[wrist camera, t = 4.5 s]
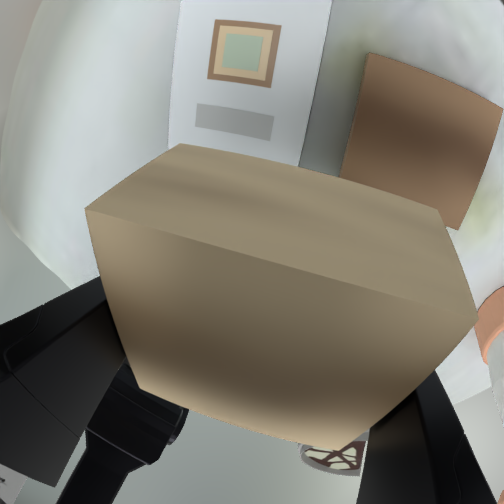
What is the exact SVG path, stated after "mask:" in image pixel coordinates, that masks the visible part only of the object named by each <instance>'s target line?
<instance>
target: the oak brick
mask: <svg viewBox="0 0 504 504" xmlns="http://www.w3.org/2000/svg"><path fill="white" fill-rule="evenodd" d="M84 209H85V214H86V219H87V224H88V228H89V233H90V237H91V242H92V246H93V250H94V254H95V258H96V262H97V266H98V269H99V273H100V277H101V280H102V284H103V287H104V291H105V294H106V297H107V301H108V304H109V307H110V310H111V313H112V316H113V319H114V322H115V325H116V328H117V331H118V334H119V337H120V339H121V342H122V345H123V348H124V350H125V353H126V356H127V358H128V361H129V363H130V366H131V368H132V371H133V373H134V376H135V378H136V380H137V383H138V385H139V387H140V389H143V390H145V391H147V392H149V393H151V394H154V395H156V396H158V397H160V398H163V399H165V400H167V401H170V402H172V403H175V404H177V405H180V406H182V407H185V408H187V409H190V410H192V411H195V412H197V413H200V414H203V415H206V416H208V417H211V418H214V419H217V420H220V421H223V422H226V423H229V424H232V425H235V426H238V427H242V428H245V429H248V430H251V431H255V432H258V433H262V434H265V435H269V436H273V437H276V438H281V439H284V440H288V441H293V442H297V443H301V444H306V445H311V446H315V447H320V448H326V449H331V450H337V451H339V450H341V449H342V448H343V447H345V446H346V445H348V444H349V443H350V442H352V441H353V440H354V439H356V438H357V437H359V436H360V435H361V434H362V433H364V432H365V431H366V430H368V429H369V428H370V427H372V426H373V425H374V424H375V423H377V422H378V421H379V420H380V419H381V418H383V417H384V416H385V415H386V414H387V413H389V412H390V411H391V410H392V409H393V408H395V407H396V406H397V405H398V404H399V403H400V402H401V401H402V400H404V399H405V398H406V397H407V396H408V395H409V394H410V393H411V392H412V391H413V390H415V389H416V388H417V387H418V386H419V385H420V384H421V383H422V382H423V381H424V380H425V379H426V378H427V377H428V376H429V375H430V374H431V373H432V372H433V371H434V370H435V369H436V368H437V367H438V366H439V365H440V364H441V363H442V362H443V360H444V359H445V358H446V357H447V356H448V355H449V354H450V353H451V352H452V351H453V350H454V348H455V347H456V346H457V345H458V344H459V343H460V342H461V340H462V339H463V338H464V337H465V336H466V335H467V333H468V332H469V331H470V330H471V329H472V327H473V326H474V325H475V324H476V322H477V321H478V320H479V317H478V313H477V310H476V307H475V303H474V300H473V297H472V294H471V291H470V288H469V285H468V282H467V279H466V277H465V274H464V271H463V268H462V266H461V263H460V260H459V258H458V255H457V253H456V250H455V248H454V245H453V243H452V241H451V238H450V236H449V234H448V231H447V229H446V227H445V225H444V222H443V220H442V218H441V216H440V214H439V212H438V210H437V209H434V208H432V207H429V206H426V205H423V204H421V203H418V202H415V201H412V200H409V199H406V198H403V197H400V196H397V195H394V194H391V193H388V192H385V191H382V190H379V189H376V188H372V187H369V186H366V185H363V184H359V183H356V182H352V181H349V180H346V179H342V178H339V177H335V176H331V175H328V174H324V173H320V172H316V171H313V170H309V169H305V168H301V167H297V166H293V165H289V164H284V163H280V162H276V161H271V160H267V159H262V158H258V157H253V156H248V155H244V154H239V153H234V152H229V151H223V150H218V149H213V148H207V147H201V146H195V145H189V144H183V143H179V144H178V145H176V146H174V147H173V148H171V149H169V150H168V151H166V152H165V153H163V154H161V155H160V156H158V157H157V158H155V159H154V160H152V161H151V162H149V163H147V164H146V165H144V166H143V167H141V168H140V169H138V170H137V171H135V172H134V173H133V174H131V175H130V176H128V177H127V178H125V179H124V180H122V181H121V182H120V183H118V184H117V185H115V186H114V187H113V188H111V189H110V190H108V191H107V192H106V193H104V194H103V195H102V196H100V197H99V198H98V199H96V200H95V201H94V202H92V203H91V204H90V205H88V206H87V207H86V208H84Z"/></svg>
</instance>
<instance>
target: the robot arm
mask: <svg viewBox="0 0 504 504" xmlns="http://www.w3.org/2000/svg"><path fill="white" fill-rule="evenodd" d="M118 369H119V370H118ZM188 412H189V409H187V408H185V407H182V406H180V405H177V404H175V403H172V402H170V401H167V400H165V399H163V398H160V397H158V396H156V395H154V394H151V393H149V392H147V391H145V390H143V389H140V387H139V385H138V383H137V380H136V378H135V376H134V373H133V371H132V368H131V366H130V363H129V361H128V358H127V356H126V353H125V350H124V348H123V345H122V342H121V339H120V337H119V334H118V331H117V328H116V325H115V322H114V319H113V316H112V313H111V310H110V307H109V304H108V301H107V297H106V294H105V291H104V287H103V284H102V280H101V277H100V276H99V277H97V278H95V279H93V280H91V281H89V282H86V283H84V284H82V285H80V286H78V287H76V288H74V289H72V290H70V291H68V292H66V293H65V294H62V295H60V296H58V297H56V298H54V299H53V300H50V301H48V302H47V303H45V304H44V305H41V306H39V307H37V308H35V309H33V310H31V311H29V312H27V313H25V314H23V315H21V316H19V317H17V318H14V319H12V320H10V321H8V322H6V323H3V324H1V325H0V504H13V503H14V501H15V499H16V498H17V496H18V493H19V492H20V490H21V488H22V486H23V484H24V483H25V481H26V479H27V477H30V478H32V479H34V480H37V481H39V482H42V483H44V484H47V485H49V486H52V487H55V486H56V485H57V483H58V481H59V479H60V477H61V475H62V473H63V471H64V469H65V467H66V465H67V463H68V461H69V459H70V457H71V455H72V453H73V451H74V449H75V447H76V445H77V444H78V442H79V440H80V437H81V436H82V434H83V432H84V430H85V433H86V449H85V451H84V453H83V454H82V456H81V458H80V460H79V461H78V463H77V465H76V467H75V469H74V470H73V472H72V474H71V476H70V478H69V479H68V482H67V483H66V485H65V487H64V489H63V490H62V492H61V494H60V496H59V498H58V500H57V502H56V504H112V503H113V501H114V499H115V497H116V495H117V493H118V491H119V490H120V488H121V486H122V484H123V482H124V480H125V478H126V477H127V475H128V473H130V472H132V471H134V470H136V469H138V468H140V467H142V466H144V465H146V464H147V465H151V464H152V463H154V462H155V461H157V460H158V459H159V458H160V456H161V454H162V452H163V450H164V448H165V446H166V445H171V444H172V443H173V442H174V441H175V440H176V438H177V437H178V435H179V434H180V432H181V430H182V428H183V426H184V424H185V421H186V418H187V415H188ZM356 504H497V502H496V500H495V498H494V496H493V494H492V491H491V489H490V487H489V485H488V483H487V481H486V479H485V477H484V475H483V473H482V470H481V468H480V466H479V464H478V462H477V460H476V458H475V455H474V453H473V451H472V448H471V446H470V444H469V441H468V439H467V437H466V435H465V434H464V430H463V428H462V425H461V423H460V421H459V419H458V416H457V414H456V412H455V410H454V408H453V406H452V403H451V401H450V399H449V397H448V395H447V393H446V391H445V389H444V387H443V385H442V383H441V381H440V379H439V377H438V375H437V373H436V371H435V370H434V371H433V372H432V373H431V374H430V375H429V376H428V377H427V378H426V379H425V380H424V381H423V382H422V383H421V384H420V385H419V386H418V387H417V388H416V389H415V390H413V391H412V392H411V393H410V394H409V395H408V396H407V397H406V398H405V399H404V400H402V401H401V402H400V403H399V404H398V405H397V406H396V407H395V408H393V409H392V410H391V411H390V412H389V413H387V414H386V415H385V416H384V417H383V418H381V419H380V420H379V421H378V422H377V423H375V424H374V425H373V426H372V427H370V430H369V437H368V444H367V451H366V457H365V463H364V469H363V473H362V479H361V484H360V489H359V494H358V498H357V503H356Z"/></svg>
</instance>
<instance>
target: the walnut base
mask: <svg viewBox="0 0 504 504" xmlns="http://www.w3.org/2000/svg"><path fill="white" fill-rule="evenodd" d="M502 112H503V108H501V107H499V106H497V105H496V104H494V103H492V102H490V101H488V100H486V99H485V98H483V97H481V96H479V95H477V94H475V93H473V92H471V91H469V90H467V89H465V88H463V87H461V86H459V85H456V84H454V83H452V82H450V81H448V80H445V79H443V78H441V77H438V76H436V75H434V74H431V73H429V72H426V71H424V70H421V69H418V68H416V67H413V66H410V65H407V64H405V63H402V62H399V61H396V60H393V59H390V58H387V57H383V56H380V55H377V54H373V53H370V52H369V53H368V54H367V55H366V60H365V65H364V70H363V75H362V80H361V85H360V90H359V94H358V99H357V103H356V108H355V112H354V117H353V121H352V125H351V129H350V134H349V138H348V142H347V146H346V150H345V154H344V158H343V162H342V165H341V169H340V173H339V178H342V179H346V180H349V181H352V182H356V183H359V184H363V185H366V186H369V187H372V188H376V189H379V190H382V191H385V192H388V193H391V194H394V195H397V196H400V197H403V198H406V199H409V200H412V201H415V202H418V203H421V204H423V205H426V206H429V207H432V208H434V209H437V210H438V212H439V214H440V216H441V218H442V220H443V222H444V225H445V226H447V227H450V228H453V229H455V230H458V229H459V227H460V225H461V223H462V221H463V219H464V217H465V215H466V212H467V210H468V208H469V206H470V203H471V201H472V199H473V196H474V194H475V191H476V189H477V187H478V184H479V182H480V179H481V176H482V174H483V171H484V169H485V166H486V163H487V160H488V157H489V155H490V152H491V149H492V146H493V143H494V140H495V136H496V133H497V130H498V126H499V123H500V119H501V116H502Z"/></svg>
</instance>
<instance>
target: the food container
mask: <svg viewBox="0 0 504 504" xmlns="http://www.w3.org/2000/svg"><path fill="white" fill-rule="evenodd" d="M369 430H370V428H369V429H368V430H366V431H365V432H364V433H362V434H361V435H360V436H359V437H357V438H356V439H354V440H353V441H352V442H350V443H349V444H348V445H346V446H345V447H343V448H342V449H341V450H339V451H337V450H331V449H326V448H320V447H315V446H311V445H306V444H301V443H298V452H299V454H300V459H301V461H302V462H304V463H305V464H306V465H308V466H309V467H312V468H314V469H317V470H320V471H323V472H327V473H331V474H337V475H345V476H360V470H361V464H362V457H363V451H364V447H365V443H366V441H368V437H369Z"/></svg>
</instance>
